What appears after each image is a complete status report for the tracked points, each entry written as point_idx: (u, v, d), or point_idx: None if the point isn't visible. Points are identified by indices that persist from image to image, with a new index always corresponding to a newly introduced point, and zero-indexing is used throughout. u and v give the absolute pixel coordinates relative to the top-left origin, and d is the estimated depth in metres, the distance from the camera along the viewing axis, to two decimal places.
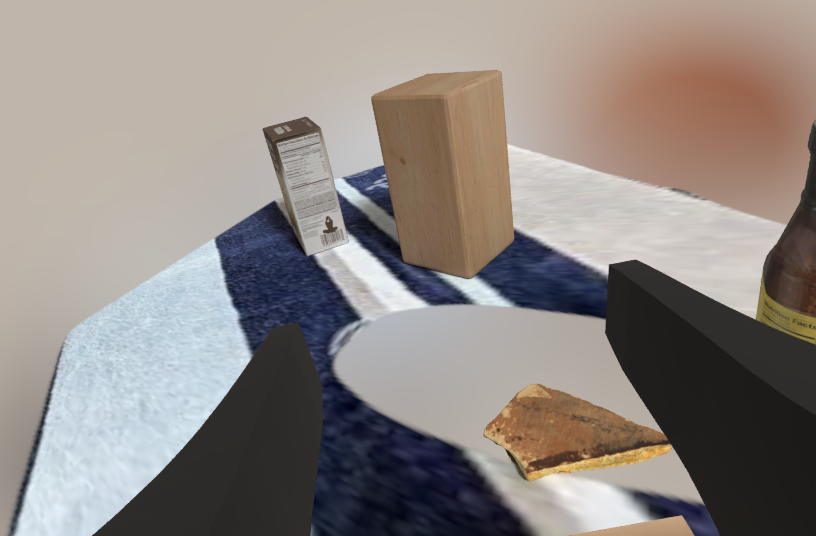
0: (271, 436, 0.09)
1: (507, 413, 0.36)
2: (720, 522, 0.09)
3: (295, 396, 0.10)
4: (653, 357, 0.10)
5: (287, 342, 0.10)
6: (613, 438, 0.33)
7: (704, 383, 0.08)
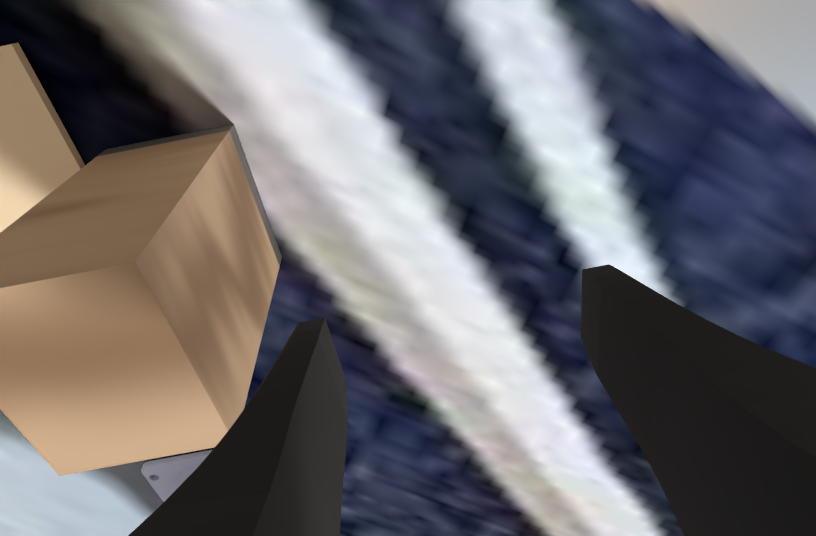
0: (305, 430, 0.09)
1: None
2: (686, 528, 0.09)
3: (324, 391, 0.10)
4: (622, 362, 0.10)
5: (315, 337, 0.10)
6: None
7: (669, 390, 0.08)
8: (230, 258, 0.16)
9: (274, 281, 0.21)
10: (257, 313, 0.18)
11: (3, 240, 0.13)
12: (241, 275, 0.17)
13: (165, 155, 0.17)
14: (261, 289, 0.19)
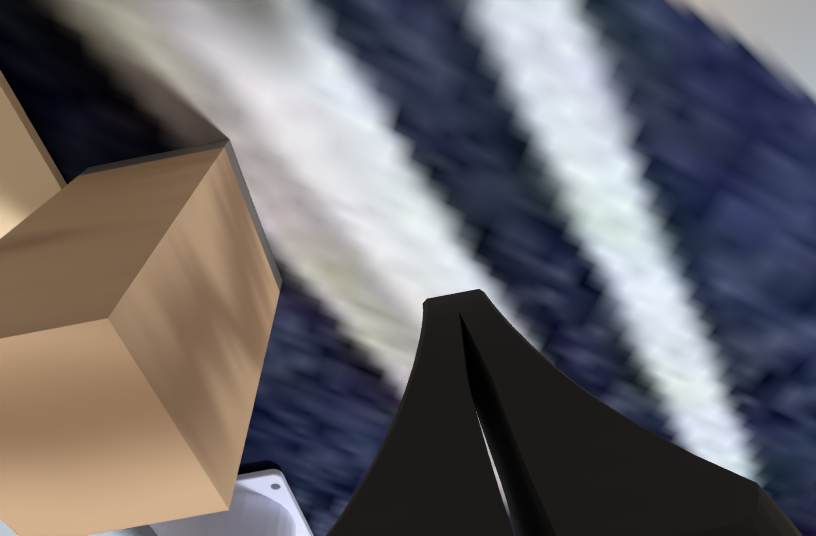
0: None
1: None
2: None
3: (466, 364, 0.10)
4: (478, 389, 0.10)
5: (455, 311, 0.10)
6: None
7: (498, 421, 0.09)
8: (224, 292, 0.15)
9: (274, 309, 0.19)
10: (255, 350, 0.16)
11: None
12: (237, 309, 0.15)
13: (152, 176, 0.15)
14: (259, 321, 0.17)
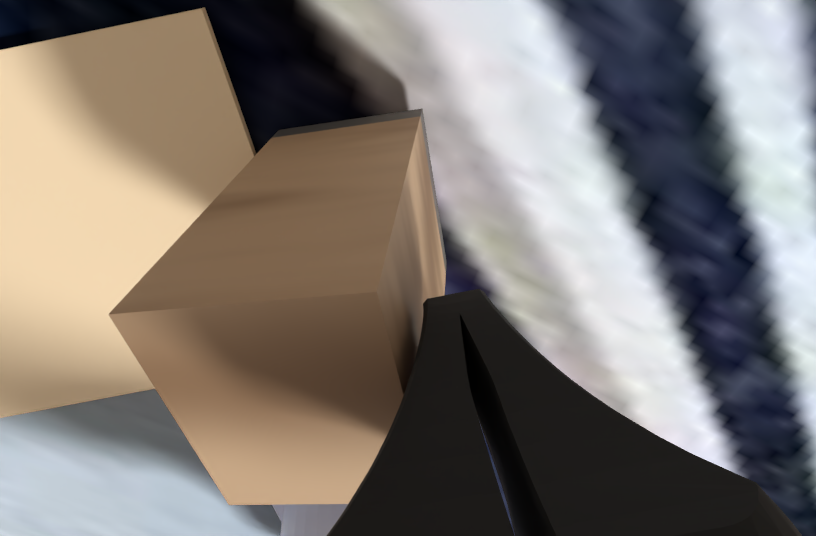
0: None
1: None
2: None
3: (466, 364, 0.10)
4: (478, 389, 0.10)
5: (455, 310, 0.10)
6: None
7: (498, 420, 0.09)
8: (424, 270, 0.14)
9: (443, 291, 0.18)
10: None
11: (196, 236, 0.11)
12: (429, 289, 0.14)
13: (353, 142, 0.15)
14: None
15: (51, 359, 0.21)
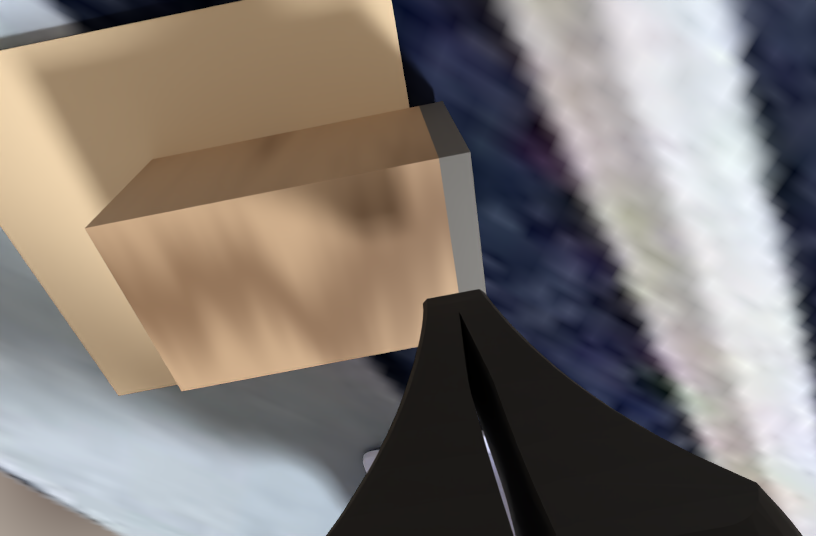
0: None
1: None
2: None
3: (466, 365, 0.10)
4: (478, 389, 0.10)
5: (455, 311, 0.10)
6: None
7: (498, 421, 0.09)
8: (297, 282, 0.14)
9: None
10: (328, 346, 0.16)
11: (226, 148, 0.17)
12: (316, 304, 0.15)
13: (372, 146, 0.14)
14: (366, 334, 0.16)
15: None
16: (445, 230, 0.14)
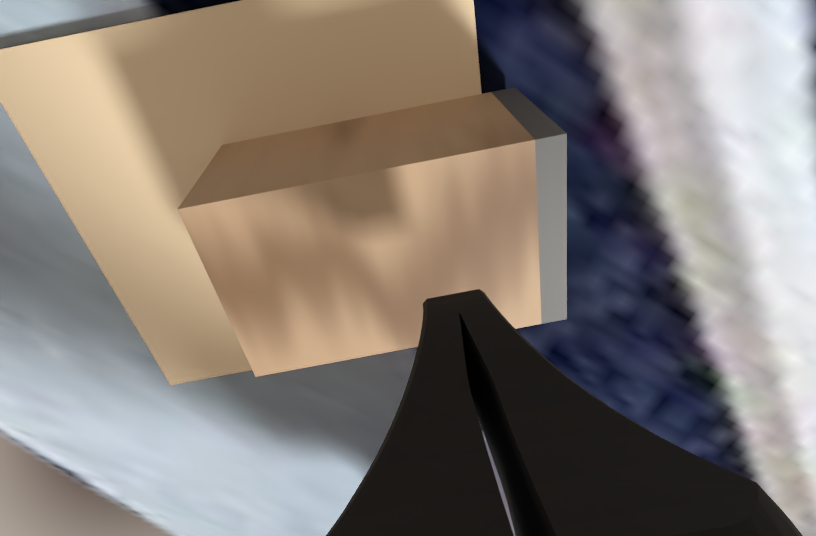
0: None
1: None
2: None
3: (466, 364, 0.10)
4: (478, 389, 0.10)
5: (455, 310, 0.10)
6: None
7: (498, 420, 0.09)
8: (382, 266, 0.14)
9: None
10: (405, 331, 0.16)
11: (298, 133, 0.17)
12: (398, 288, 0.15)
13: (458, 129, 0.14)
14: None
15: None
16: (533, 213, 0.14)
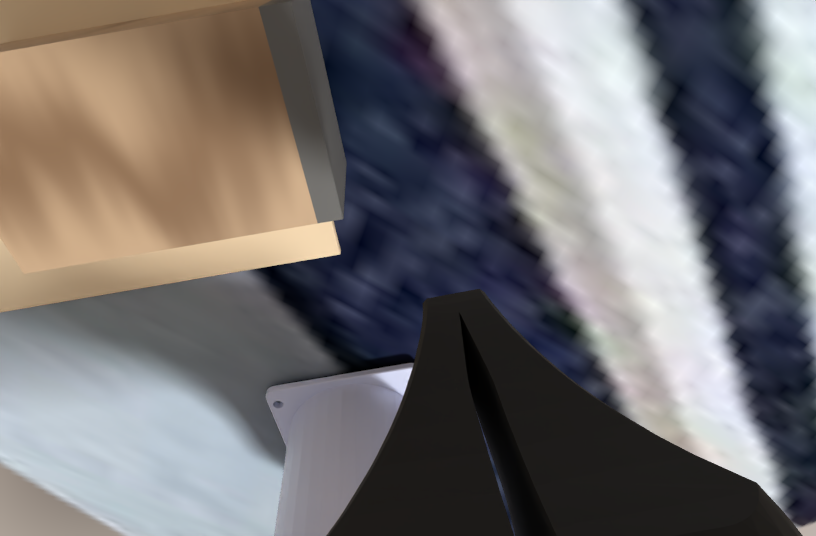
0: None
1: None
2: None
3: (466, 364, 0.10)
4: (478, 389, 0.10)
5: (455, 311, 0.10)
6: None
7: (498, 421, 0.09)
8: (129, 148, 0.14)
9: (275, 227, 0.15)
10: (173, 226, 0.15)
11: (82, 29, 0.16)
12: (153, 176, 0.14)
13: (210, 11, 0.14)
14: (212, 214, 0.15)
15: None
16: (277, 93, 0.13)
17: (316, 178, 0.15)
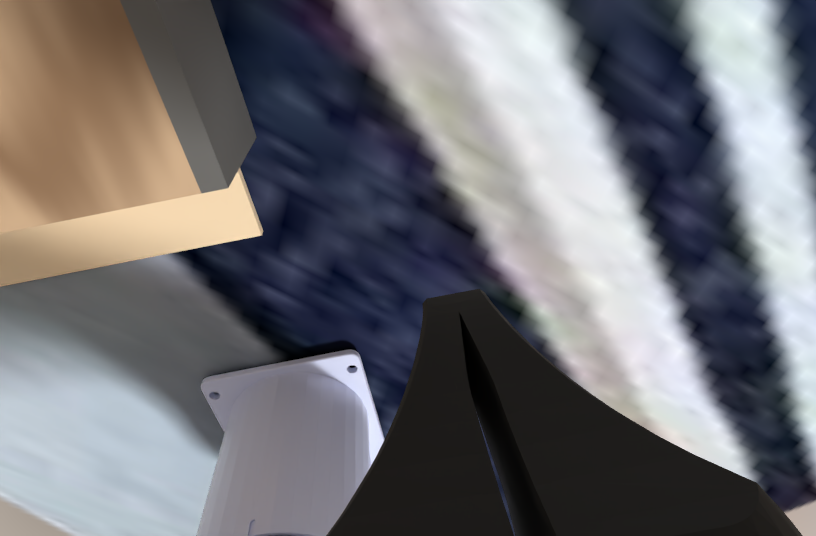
0: None
1: None
2: None
3: (466, 364, 0.10)
4: (478, 389, 0.10)
5: (455, 311, 0.10)
6: None
7: (498, 421, 0.09)
8: None
9: (156, 198, 0.15)
10: (47, 199, 0.14)
11: None
12: (17, 144, 0.14)
13: None
14: (86, 185, 0.14)
15: None
16: (136, 51, 0.13)
17: (192, 144, 0.14)
